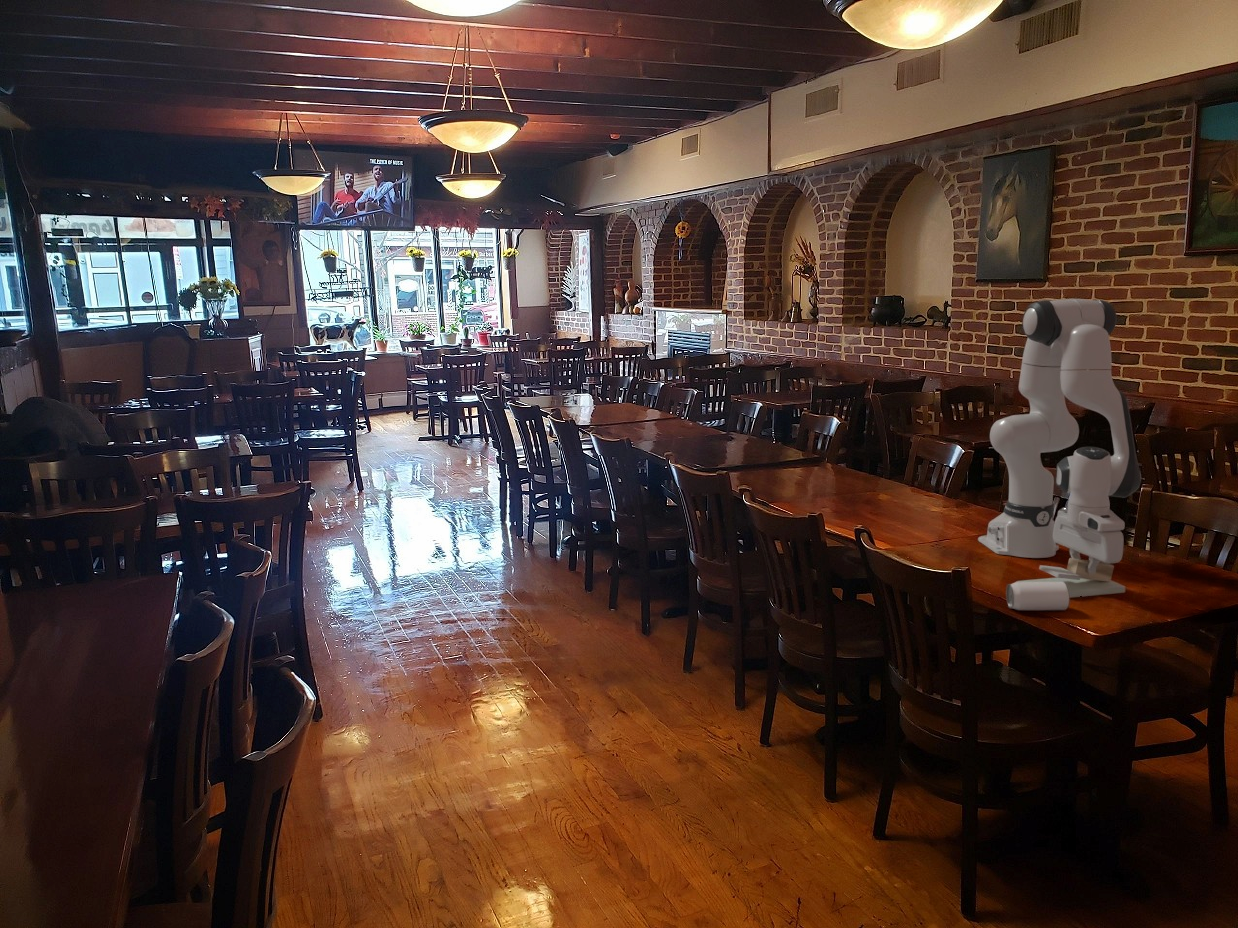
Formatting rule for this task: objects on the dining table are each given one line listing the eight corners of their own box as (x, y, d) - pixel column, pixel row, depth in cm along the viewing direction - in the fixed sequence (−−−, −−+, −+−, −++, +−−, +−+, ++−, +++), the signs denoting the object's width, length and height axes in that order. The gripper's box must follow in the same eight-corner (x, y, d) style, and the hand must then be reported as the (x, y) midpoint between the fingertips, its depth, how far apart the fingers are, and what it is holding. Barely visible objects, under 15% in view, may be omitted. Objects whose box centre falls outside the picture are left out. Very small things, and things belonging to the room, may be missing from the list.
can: (1070, 585, 193) (1013, 586, 195) (1070, 613, 194) (1013, 613, 196) (1060, 578, 200) (1005, 578, 202) (1060, 605, 200) (1005, 605, 202)
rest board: (1016, 586, 213) (1016, 581, 213) (1095, 579, 217) (1096, 573, 217) (1042, 600, 204) (1042, 594, 203) (1124, 592, 207) (1125, 586, 207)
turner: (1039, 568, 212) (1042, 553, 211) (1095, 575, 215) (1099, 559, 214) (1057, 577, 205) (1061, 561, 205) (1115, 583, 208) (1119, 568, 208)
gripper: (1047, 506, 217) (1044, 559, 220) (1106, 526, 197) (1101, 584, 200) (1070, 504, 218) (1066, 557, 221) (1130, 524, 198) (1125, 582, 201)
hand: (1083, 570), depth 210 cm, fingers closed on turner, 3 cm apart
